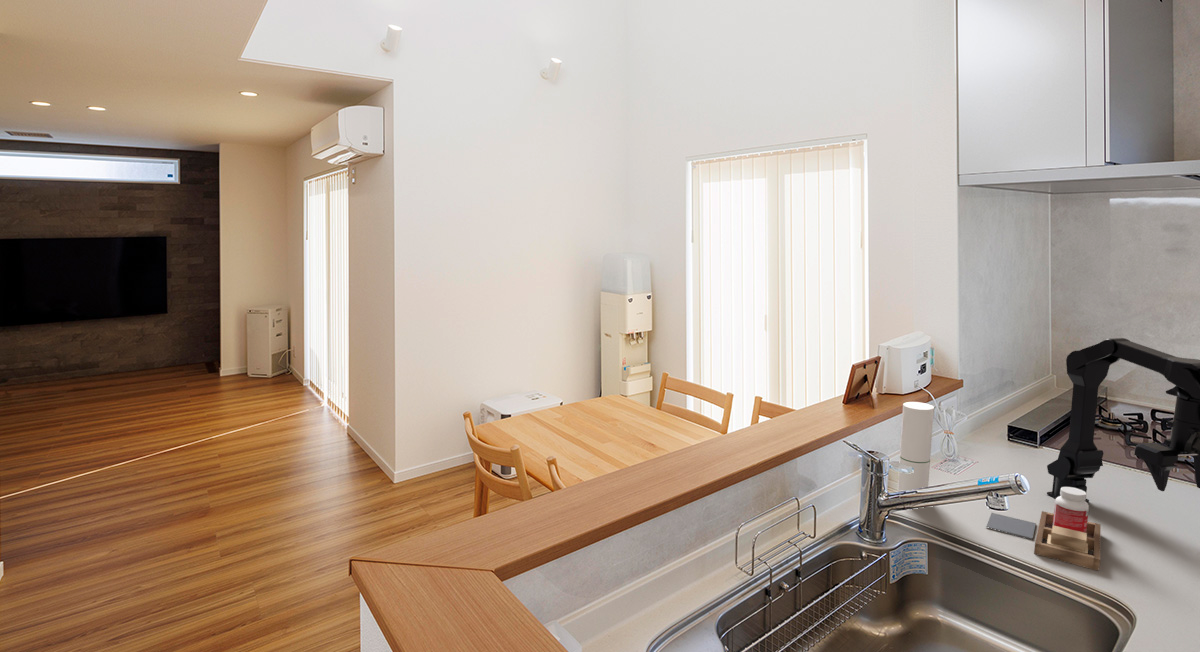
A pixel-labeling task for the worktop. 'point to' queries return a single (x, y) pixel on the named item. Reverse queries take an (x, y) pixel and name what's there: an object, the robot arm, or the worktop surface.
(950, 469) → the worktop surface
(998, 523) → the mat
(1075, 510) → the pill bottle
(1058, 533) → the upper offcut
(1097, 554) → the rack
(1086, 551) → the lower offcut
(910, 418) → the cylindrical container
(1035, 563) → the worktop surface
